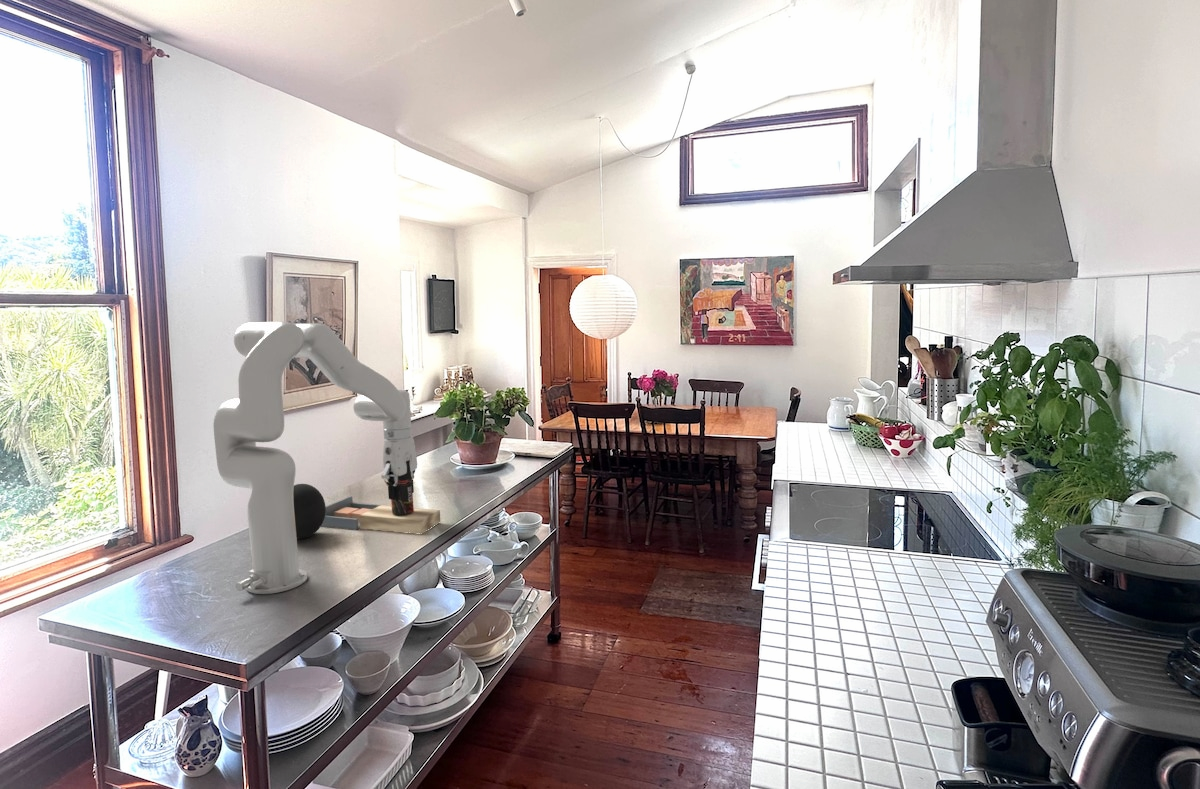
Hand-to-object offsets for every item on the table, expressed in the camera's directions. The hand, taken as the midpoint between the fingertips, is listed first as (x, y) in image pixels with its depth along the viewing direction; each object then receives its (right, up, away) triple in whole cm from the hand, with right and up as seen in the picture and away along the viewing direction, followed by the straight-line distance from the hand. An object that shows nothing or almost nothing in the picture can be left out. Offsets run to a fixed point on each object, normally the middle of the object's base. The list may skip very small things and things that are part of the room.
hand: (401, 495), depth 188 cm
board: (-1, -9, +2) cm, 9 cm away
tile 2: (-13, -8, +6) cm, 17 cm away
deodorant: (0, -5, 0) cm, 5 cm away
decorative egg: (-25, -11, -6) cm, 28 cm away
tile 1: (-19, -6, +7) cm, 21 cm away
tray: (-17, -9, +8) cm, 20 cm away
